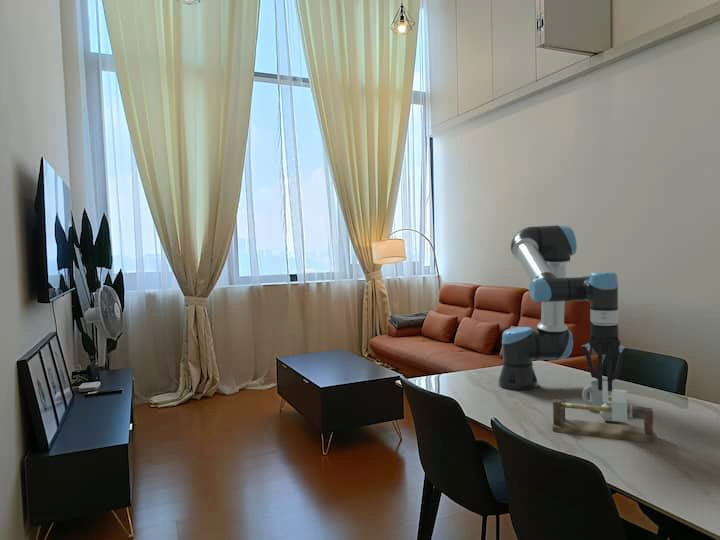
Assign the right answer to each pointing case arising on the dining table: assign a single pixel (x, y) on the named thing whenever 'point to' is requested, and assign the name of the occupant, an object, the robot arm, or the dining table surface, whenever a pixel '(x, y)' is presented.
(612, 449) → the dining table surface
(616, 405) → the sleeve
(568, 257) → the robot arm
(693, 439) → the dining table surface
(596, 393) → the cup
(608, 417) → the ornament
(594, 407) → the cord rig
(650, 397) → the dining table surface
